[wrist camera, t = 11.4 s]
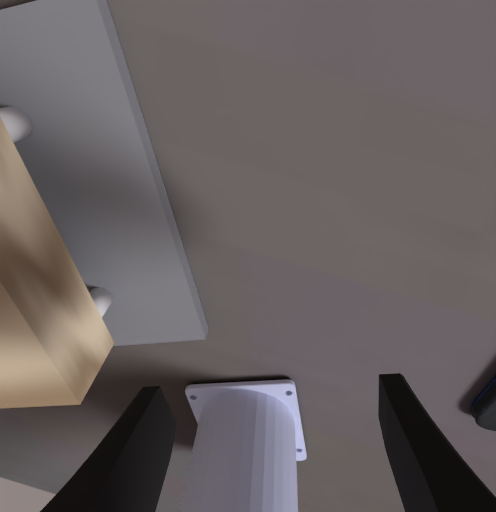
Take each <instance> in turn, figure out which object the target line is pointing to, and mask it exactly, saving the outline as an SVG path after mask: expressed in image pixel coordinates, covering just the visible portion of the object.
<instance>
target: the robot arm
mask: <svg viewBox="0 0 496 512" xmlns="http://www.w3.org/2000/svg"><path fill="white" fill-rule="evenodd" d="M185 394H186V396H187V399H188V401H189V404H190V406H191V409H192V411H193V414H194V416H195V419H196V421H197V424H198V427H197V432H196V436H195V441H194V445H193V450H192V454H191V459H190V464H189V468H188V473H187V477H186V482H185V486H184V491H183V496H182V500H181V505H180V509H179V512H298V497H297V468H296V461H302V460H305V459H306V449H305V442H304V436H303V430H302V424H301V418H300V412H299V406H298V400H297V394H296V388H295V383H294V382H293V381H292V380H288V379H286V380H267V381H248V382H229V383H211V384H192V385H188V386H187V387H186V389H185ZM379 421H380V425H381V430H382V435H383V439H384V444H385V448H386V452H387V456H388V459H389V462H390V465H391V468H392V471H393V475H394V478H395V481H396V484H397V487H398V490H399V493H400V497H401V500H402V503H403V506H404V509H405V512H496V497H495V496H494V495H493V494H492V492H491V491H490V490H489V489H488V488H487V487H486V486H485V485H484V483H483V482H482V481H481V480H480V479H479V478H478V476H477V475H476V474H475V473H474V472H473V471H472V469H471V468H470V467H469V466H468V465H467V463H466V462H465V461H464V460H463V459H462V457H461V456H460V455H459V454H458V452H457V451H456V450H455V449H454V447H453V446H452V445H451V444H450V442H449V441H448V440H447V438H446V437H445V436H444V434H443V433H442V432H441V431H440V429H439V428H438V427H437V425H436V424H435V423H434V421H433V420H432V419H431V417H430V416H429V414H428V413H427V412H426V410H425V409H424V407H423V406H422V404H421V403H420V401H419V400H418V398H417V397H416V395H415V394H414V392H413V391H412V389H411V388H410V386H409V385H408V383H407V381H406V380H405V378H404V376H403V375H401V374H400V373H399V374H380V375H379ZM175 429H176V421H175V419H174V417H173V415H172V412H171V410H170V408H169V406H168V404H167V401H166V399H165V397H164V395H163V393H162V390H161V388H160V386H154V387H143V388H142V389H141V390H140V392H139V393H138V394H137V395H136V397H135V398H134V399H133V401H132V402H131V403H130V405H129V406H128V407H127V409H126V410H125V411H124V413H123V414H122V415H121V417H120V418H119V419H118V421H117V422H116V423H115V425H114V426H113V427H112V429H111V430H110V431H109V432H108V434H107V435H106V436H105V437H104V439H103V440H102V441H101V443H100V444H99V445H98V446H97V448H96V449H95V450H94V451H93V453H92V454H91V455H90V456H89V457H88V459H87V460H86V461H85V462H84V463H83V465H82V466H81V467H80V468H79V469H78V470H77V472H76V473H75V474H74V475H73V476H72V478H71V479H70V480H69V481H68V482H67V483H66V484H65V485H64V487H63V488H62V489H61V490H60V491H59V492H58V493H57V494H56V495H55V496H54V498H53V499H52V500H51V501H50V502H49V503H48V504H47V505H46V506H45V507H44V508H43V509H42V510H41V511H40V512H155V510H156V507H157V503H158V500H159V496H160V493H161V489H162V486H163V482H164V479H165V475H166V472H167V468H168V465H169V461H170V457H171V453H172V447H173V442H174V435H175Z"/></svg>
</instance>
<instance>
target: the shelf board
mask: <svg viewBox="0 0 496 512" xmlns="http://www.w3.org/2000/svg"><path fill="white" fill-rule="evenodd" d="M113 345H114V341H113V339H112V337H111V335H110V333H109V331H108V329H107V327H106V325H105V323H104V321H103V319H102V317H101V315H100V313H99V311H98V309H97V307H96V305H95V303H94V301H93V299H92V298H91V296H90V294H89V292H88V290H87V288H86V286H85V284H84V282H83V280H82V278H81V276H80V274H79V272H78V270H77V268H76V266H75V264H74V262H73V260H72V258H71V256H70V254H69V252H68V250H67V248H66V246H65V244H64V242H63V240H62V238H61V236H60V234H59V232H58V230H57V228H56V226H55V224H54V222H53V220H52V218H51V216H50V214H49V212H48V210H47V208H46V206H45V204H44V202H43V200H42V198H41V196H40V194H39V192H38V191H37V189H36V187H35V185H34V183H33V181H32V179H31V177H30V175H29V173H28V171H27V169H26V167H25V165H24V163H23V161H22V159H21V157H20V155H19V153H18V151H17V149H16V147H15V145H14V143H13V141H12V139H11V137H10V135H9V133H8V131H7V129H6V127H5V125H4V123H3V121H2V119H1V117H0V408H19V407H40V406H61V405H80V404H81V402H82V401H83V399H84V397H85V395H86V393H87V392H88V390H89V388H90V386H91V384H92V383H93V381H94V379H95V377H96V375H97V374H98V372H99V370H100V368H101V366H102V365H103V363H104V361H105V359H106V357H107V356H108V354H109V352H110V350H111V348H112V347H113Z"/></svg>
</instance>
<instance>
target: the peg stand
mask: <svg viewBox="0 0 496 512" xmlns="http://www.w3.org/2000/svg"><path fill="white" fill-rule="evenodd" d="M0 117H1V119H2V121H3V123H4V125H5V127H6V129H7V131H8V133H9V135H10V137H11V139H12V141H13V143H14V145H15V147H16V149H17V151H18V153H19V155H20V157H21V159H22V161H23V163H24V165H25V167H26V169H27V171H28V173H29V175H30V177H31V179H32V181H33V183H34V185H35V187H36V189H37V191H38V192H39V194H40V196H41V198H42V200H43V202H44V204H45V206H46V208H47V210H48V212H49V214H50V216H51V218H52V220H53V222H54V224H55V226H56V228H57V230H58V232H59V234H60V236H61V238H62V240H63V242H64V244H65V246H66V248H67V250H68V252H69V254H70V256H71V258H72V260H73V262H74V264H75V266H76V268H77V270H78V272H79V274H80V276H81V278H82V280H83V282H84V284H85V286H86V288H87V290H88V292H89V294H90V296H91V298H92V299H93V301H94V303H95V305H96V307H97V309H98V311H99V313H100V315H101V317H102V319H103V321H104V323H105V325H106V327H107V329H108V331H109V333H110V335H111V337H112V339H113V341H114V345H113V346H123V345H136V344H150V343H163V342H177V341H190V340H204V339H206V336H207V332H208V325H207V322H206V319H205V315H204V312H203V309H202V306H201V302H200V299H199V296H198V293H197V290H196V286H195V283H194V280H193V277H192V273H191V270H190V267H189V264H188V261H187V257H186V254H185V251H184V248H183V245H182V241H181V238H180V235H179V232H178V228H177V225H176V222H175V219H174V216H173V212H172V209H171V206H170V203H169V199H168V196H167V193H166V190H165V187H164V183H163V180H162V177H161V174H160V171H159V167H158V164H157V161H156V158H155V154H154V151H153V148H152V145H151V142H150V138H149V135H148V132H147V129H146V125H145V122H144V119H143V116H142V113H141V109H140V106H139V103H138V100H137V97H136V93H135V90H134V87H133V84H132V80H131V77H130V74H129V71H128V68H127V64H126V61H125V58H124V55H123V51H122V48H121V45H120V42H119V39H118V35H117V32H116V29H115V26H114V23H113V19H112V16H111V13H110V10H109V6H108V3H107V0H36V1H32V2H29V3H25V4H21V5H17V6H13V7H9V8H5V9H1V10H0Z"/></svg>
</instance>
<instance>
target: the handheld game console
mask: <svg viewBox="0 0 496 512" xmlns="http://www.w3.org/2000/svg"><path fill="white" fill-rule="evenodd" d="M471 412H472V416H473V417H474V418H475V421H476V423H477V424H478V425H479V426H480V427H482V428H485V429H488V430H493V431H496V378H495V379H494V380H493V381H492V382H491V384H490V385H489V386H488V387H487V388H486V389H485V391H484V392H483V393H482V394H481V395H480V396H479V398H478V399H477V400H476V401H475V403H474V404H473V406H472V409H471Z"/></svg>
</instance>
